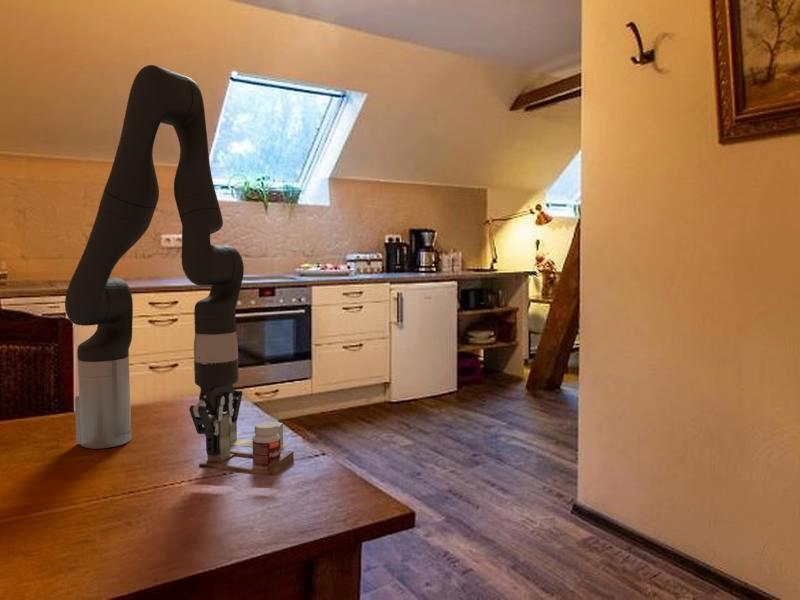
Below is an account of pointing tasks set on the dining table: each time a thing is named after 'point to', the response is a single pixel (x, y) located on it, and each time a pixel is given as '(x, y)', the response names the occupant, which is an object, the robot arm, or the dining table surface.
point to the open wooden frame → (240, 454)
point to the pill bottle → (265, 445)
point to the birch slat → (243, 442)
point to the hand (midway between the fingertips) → (218, 451)
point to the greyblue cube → (280, 432)
